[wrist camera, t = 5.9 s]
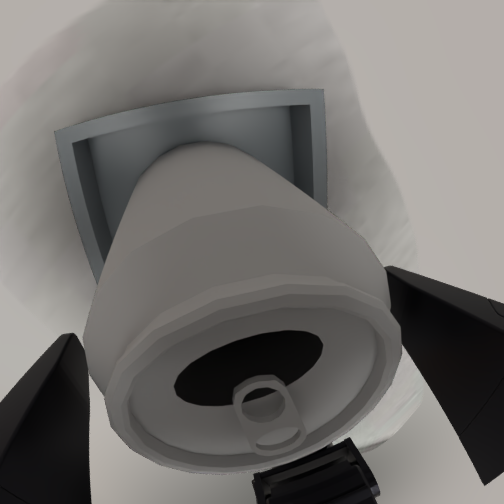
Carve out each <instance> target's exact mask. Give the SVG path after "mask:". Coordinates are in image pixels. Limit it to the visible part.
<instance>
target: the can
mask: <svg viewBox="0 0 504 504" xmlns="http://www.w3.org/2000/svg"><path fill="white" fill-rule="evenodd" d="M390 308H391V302H390V294H389V287H388V281H387V274H386V270H385V269H384V267H383V266H382V264H381V263H380V261H379V260H378V258H377V257H376V255H375V254H374V252H373V251H372V249H371V248H370V246H369V245H368V243H367V242H366V240H365V239H364V238H363V237H361V236H360V235H359V234H358V233H356V232H355V231H354V230H353V229H351V228H350V227H349V226H348V225H346V224H345V223H344V222H342V221H341V220H340V219H339V218H337V217H336V216H335V215H333V214H332V213H331V212H329V211H328V210H327V209H325V208H324V207H323V206H322V205H320V204H319V203H318V202H316V201H315V200H313V199H312V198H311V197H309V196H308V195H307V194H305V193H304V192H303V191H301V190H300V189H298V188H297V187H296V186H294V185H293V184H292V183H290V182H289V181H287V180H286V179H285V178H283V177H282V176H280V175H279V174H277V173H276V172H275V171H273V170H272V169H270V168H269V167H267V166H266V165H265V164H263V163H262V162H260V161H259V160H257V159H256V158H254V157H253V156H251V155H249V154H247V153H245V152H244V151H242V150H240V149H238V148H236V147H234V146H232V145H229V144H223V143H216V142H210V141H202V142H196V143H191V144H185V145H180V146H178V147H176V148H174V149H172V150H171V151H169V152H167V153H165V154H163V155H161V156H160V157H158V158H157V159H156V160H155V161H154V162H153V163H152V164H151V165H150V166H149V167H148V168H147V169H146V170H145V171H144V173H143V174H142V175H141V176H140V177H139V180H138V182H137V184H136V186H135V189H134V191H133V193H132V195H131V198H130V200H129V202H128V205H127V207H126V210H125V212H124V214H123V217H122V219H121V222H120V224H119V227H118V229H117V232H116V235H115V237H114V240H113V243H112V245H111V248H110V251H109V253H108V256H107V259H106V262H105V265H104V268H103V271H102V274H101V277H100V280H99V283H98V286H97V289H96V292H95V295H94V299H93V302H92V305H91V309H90V312H89V316H88V319H87V323H86V327H85V330H84V334H83V343H84V349H85V354H86V360H87V365H88V370H89V374H90V376H91V377H92V379H93V381H94V382H95V384H96V385H97V387H98V388H99V390H100V391H101V392H102V394H103V395H104V397H105V398H104V400H105V404H106V408H107V413H108V417H109V421H110V425H111V427H112V429H113V430H114V431H115V432H116V433H117V434H118V436H119V437H120V438H121V439H122V440H123V441H124V442H125V443H126V445H128V447H129V448H130V449H132V450H133V451H135V452H136V453H138V454H140V455H142V456H143V457H145V458H147V459H149V460H151V461H153V462H155V463H157V464H159V465H161V466H165V467H169V468H172V469H176V470H180V471H185V472H189V473H199V474H217V475H227V474H237V473H246V472H253V471H260V470H264V469H267V468H271V467H275V466H279V465H282V464H286V463H289V462H292V461H294V460H297V459H299V458H302V457H304V456H306V455H308V454H311V453H313V452H315V451H317V450H319V449H322V448H323V447H325V446H327V445H328V444H330V443H331V442H333V441H335V440H336V439H338V438H339V437H341V436H342V435H344V434H345V433H347V432H348V431H350V430H351V429H352V428H353V427H354V426H356V425H357V424H358V423H359V422H360V421H361V420H362V419H363V418H364V417H366V416H367V415H368V414H369V413H370V412H371V411H372V410H373V409H374V408H375V406H376V405H377V404H378V402H379V401H380V400H381V398H382V397H383V396H384V394H385V393H386V391H387V390H388V388H389V387H390V386H391V384H392V381H393V379H394V376H395V373H396V370H397V368H398V365H399V362H400V359H401V356H402V341H401V327H400V325H399V324H398V322H397V321H396V319H395V318H394V317H393V315H392V314H391V312H390Z"/></svg>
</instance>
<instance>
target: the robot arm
mask: <svg viewBox="0 0 504 504" xmlns="http://www.w3.org/2000/svg"><path fill="white" fill-rule="evenodd" d="M384 269H385V270H386V274H387V281H388V287H389V294H390V302H391V308H390V312H391V314H392V315H393V317H394V318H395V319H396V321H397V322H398V324H399V325H400V327H401V341H402V345H403V346H404V348H405V349H406V351H407V352H408V354H409V355H410V357H411V359H412V360H413V362H414V363H415V365H416V366H417V368H418V369H419V371H420V373H421V374H422V376H423V377H424V379H425V381H426V382H427V384H428V386H429V387H430V389H431V390H432V392H433V394H434V395H435V397H436V399H437V400H438V402H439V404H440V405H441V407H442V409H443V411H444V412H445V414H446V416H447V417H448V419H449V421H450V423H451V424H452V426H453V428H454V430H455V431H456V433H457V435H458V436H459V439H460V441H461V443H462V444H463V446H464V448H465V450H466V452H467V454H468V456H469V458H470V459H471V461H472V463H473V465H474V467H475V469H476V471H477V473H478V475H479V477H480V479H481V481H482V483H483V484H484V486H485V485H487V484H488V483H490V482H491V481H492V480H493V479H495V478H496V477H498V476H499V475H500V474H502V473H503V472H504V304H503V303H500V302H497V301H494V300H492V299H487V298H486V297H483V296H480V295H478V294H475V293H472V292H469V291H466V290H463V289H460V288H457V287H454V286H451V285H448V284H445V283H443V282H439V281H437V280H434V279H431V278H428V277H425V276H422V275H419V274H416V273H413V272H410V271H406V270H403V269H400V268H397V267H394V266H386V267H384ZM88 373H89V371H88V365H87V360H86V354H85V350H84V348H83V346H82V345H81V343H80V341H79V339H78V337H77V336H76V335H75V334H74V333H68V334H62V335H61V336H60V337H59V338H58V339H57V340H56V341H55V342H54V343H53V344H52V345H51V346H50V347H49V348H48V349H47V350H46V351H45V352H44V354H43V355H42V356H41V357H40V358H39V359H38V360H37V361H36V362H35V363H34V365H33V366H32V367H31V368H30V369H29V370H28V371H27V372H26V373H25V374H24V376H23V377H22V378H21V379H20V380H19V381H18V382H17V384H16V385H15V386H14V387H13V388H12V389H11V391H10V392H9V393H8V394H7V395H6V397H5V398H4V399H3V400H2V401H1V402H0V504H92V503H91V491H90V490H91V489H90V469H89V420H90V397H89V374H88ZM271 468H272V469H270V470H267V471H264V472H261V473H260V472H258V473H254V474H253V475H254V480H252V484H253V488H254V491H255V495H256V501H257V504H377V502H376V500H375V498H376V497H377V496H380V490H379V487H378V484H377V482H376V479H375V477H374V475H373V473H372V471H371V470H370V468H369V467H368V465H367V464H366V462H365V460H364V459H363V457H362V456H361V454H360V452H359V451H358V449H357V448H356V446H355V445H354V443H353V441H352V440H351V438H350V437H349V438H347V439H344V441H342V442H340V443H338V444H336V445H333V444H332V442H331V443H330V444H328V445H327V446H325V447H323V448H322V449H319V450H317V451H315V452H313V453H311V454H308V455H306V456H304V457H302V458H299V459H297V460H294V461H292V462H289V463H286V464H282V465H279V466H275V467H271Z"/></svg>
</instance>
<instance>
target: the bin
mask: <svg viewBox="0 0 504 504" xmlns="http://www.w3.org/2000/svg"><path fill="white" fill-rule="evenodd" d="M54 133H55V138H56V144H57V149H58V154H59V158H60V163H61V167H62V172H63V176H64V180H65V184H66V188H67V192H68V196H69V200H70V203H71V207H72V211H73V214H74V217H75V221H76V224H77V227H78V231H79V234H80V237H81V240H82V243H83V246H84V249H85V252H86V255H87V258H88V261H89V264H90V266H91V269H92V272H93V275H94V277H95V280H96V282H97V285H98V283H99V280H100V277H101V274H102V271H103V268H104V265H105V262H106V259H107V256H108V253H109V251H110V248H111V245H112V243H113V240H114V237H115V235H116V232H117V229H118V227H119V224H120V222H121V219H122V217H123V214H124V212H125V210H126V207H127V205H128V202H129V200H130V198H131V195H132V193H133V191H134V189H135V186H136V184H137V182H138V180H139V177H140V176H141V175H142V174H143V173H144V171H145V170H146V169H147V168H148V167H149V166H150V165H151V164H152V163H153V162H154V161H155V160H156V159H157V158H158V157H160V156H161V155H163V154H165V153H167V152H169V151H171V150H172V149H174V148H176V147H178V146H180V145H185V144H191V143H196V142H202V141H210V142H216V143H223V144H229V145H232V146H234V147H236V148H238V149H240V150H242V151H244V152H245V153H247V154H249V155H251V156H253V157H254V158H256V159H257V160H259V161H260V162H262V163H263V164H265V165H266V166H267V167H269V168H270V169H272V170H273V171H275V172H276V173H277V174H279V175H280V176H282V177H283V178H285V179H286V180H287V181H289V182H290V183H292V184H293V185H294V186H296V187H297V188H298V189H300V190H301V191H303V192H304V193H305V194H307V195H308V196H309V197H311V198H312V199H313V200H315V201H316V202H318V203H319V204H320V205H322V206H323V207H324V208H325V209H327V149H326V122H325V103H324V89H288V90H267V91H253V92H241V93H230V94H221V95H213V96H205V97H198V98H191V99H185V100H179V101H173V102H167V103H162V104H156V105H151V106H147V107H142V108H137V109H133V110H128V111H124V112H120V113H116V114H112V115H108V116H104V117H100V118H97V119H93V120H90V121H86V122H83V123H79V124H76V125H73V126H70V127H67V128H63V129H60V130H57V131H54Z"/></svg>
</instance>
